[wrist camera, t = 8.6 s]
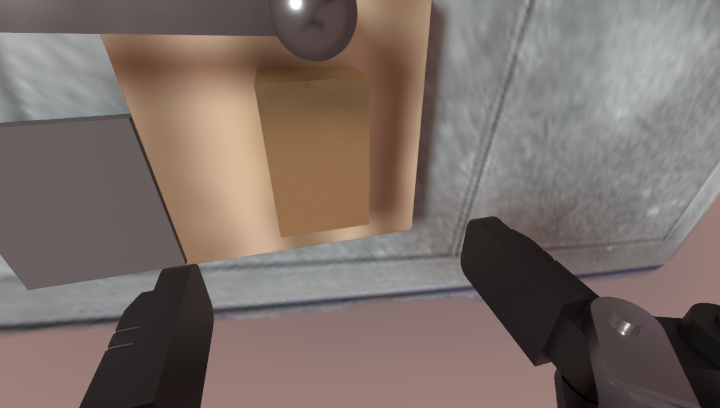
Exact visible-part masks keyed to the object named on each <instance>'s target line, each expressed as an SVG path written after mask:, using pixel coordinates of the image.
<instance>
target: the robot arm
mask: <svg viewBox="0 0 720 408" xmlns="http://www.w3.org/2000/svg"><path fill="white" fill-rule="evenodd" d="M461 267H462V270H463V273H464V275H465V276H466V278H467V279H468V280H469V282H470V283H471V284H472V285H473V287H474V288H475V289H476V291H477V292H478V293H479V295H480V296H481V297H482V298H483V300H484V301H485V302H486V304H487V305H488V306H489V307H490V309H491V310H492V311H493V313H494V314H495V315H496V317H497V318H498V319H499V320H500V322H501V323H502V324H503V326H504V327H505V328H506V330H507V331H508V332H509V333H510V335H511V336H512V337H513V339H514V340H515V341H516V343H517V344H518V345H519V346H520V347H521V349H522V350H523V351H524V353H525V354H526V355H527V357H528V358H529V359H530V361H531V362H532V363H533V364H534V366H538V365H542V364H545V363H549V362H552V363H553V364H554V365H555V366H556V368H557V369H556V371H555V375H554V380H555V389H556V399H557V408H720V305H716V304H710V303H698V304H695V305H693V306H692V307H691V308H690V310H689V311H688V312H687V313H686V315H685V316H684V317H683V318H669V317H668V318H667V317H654V316H652V315H651V314H650V313H648V312H647V311H645V310H644V309H642V308H641V307H639V306H637V305H635V304H633V303H631V302H628V301H626V300H623V299H619V298H614V297H599V296H598V295H596V294H595V293H594V292H593V291H592V290H591V289H590V288H588V287H587V286H586V285H585V284H584V283H582V282H581V281H580V280H579V279H578V278H577V277H575V276H574V275H573V274H572V273H571V272H569V271H568V270H567V269H566V268H565V267H563V266H562V265H561V264H560V263H559V262H558V261H556V260H555V261H554V260H553V257H552V256H550V255H549V254H548V253H547V252H546V251H543V250H542V248H541V247H540V246H539V245H537V244H536V243H535V242H534V241H533V240H531V239H530V238H529V237H527V236H525V235H523V234H521V233H519V232H517V231H515V230H513V229H510V228H509V227H508V226H507V225H505V224H504V223H503V222H502V221H501V220H500V219H498V218H497V217H494V216H492V217H485V218H479V219H473V220H470V221H469V223H468V225H467V229H466V234H465V238H464V243H463V248H462V253H461ZM213 323H214V316H213V308H212V303H211V300H210V298H209V295H208V292H207V289H206V286H205V283H204V280H203V278H202V275H201V272H200V269H199V267H198V265H197V264H189V265H183V266H176V267H170V268H165V269H163V270H162V271H161V273H160V276H159V278H158V281H157V283H156V286H155V288H154V291H148V292H142V293H141V294H140V295H139V296H138V297H137V298H136V299H135V300H134V301H133V302H132V303H131V304H130V305H129V306H128V307H127V309H126V310H125V311H124V313H123V315H122V317H121V319H120V321H119V324H118V326H117V328H116V334H113V337H112V339H111V341H110V343H109V345H108V351H105V354H104V356H103V358H102V360H101V363H100V364H99V366H98V369H97V371H96V373H95V375H94V377H93V380H92V381H91V384H90V386H89V388H88V390H87V392H86V394H85V396H84V399H83V401H82V403H81V405H80V407H79V408H200V406H201V400H202V393H203V387H204V381H205V375H206V369H207V363H208V356H209V350H210V344H211V337H212V331H213Z"/></svg>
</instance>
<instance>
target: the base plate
mask: <svg viewBox="0 0 720 408" xmlns="http://www.w3.org/2000/svg"><path fill="white" fill-rule="evenodd" d="M356 2H357V13H358V15H357V24H356V29H355V32H354V35H353V37H352V39H351V41H350V42H349V44H348V45H347V47H346V48H345V49H344V50H343V51H342V52H341V53H339V54H338V55H337V56H335V57H333V58H331V59H328V60H325V61H317V62H316V61H308V60H304V59H301V58H299V57H297V56H295V55H294V54H292V53H291V52H290V51H288V50H287V49H286V48H285V47H284V46H283V45H282V43H281V42H280V41H279V39H278V38H277V36H214V35H146V34H100V35H101V37H102V40H103V43H104V45H105V48H106V50H107V53H108V56H109V58H110V61H111V63H112V66H113V69H114V71H115V74H116V76H117V79H118V82H119V84H120V87H121V89H122V92H123V95H124V97H125V100H126V102H127V105H128V108H129V110H130V113H131V115H132V118H133V121H134V123H135V126H136V128H137V131H138V134H139V136H140V139H141V141H142V144H143V147H144V149H145V152H146V154H147V157H148V160H149V162H150V165H151V167H152V170H153V173H154V175H155V178H156V180H157V183H158V186H159V188H160V191H161V193H162V196H163V199H164V201H165V204H166V206H167V209H168V212H169V214H170V217H171V219H172V222H173V225H174V227H175V230H176V232H177V235H178V238H179V240H180V243H181V245H182V248H183V251H184V253H185V256H186V258H187V261H188V264H199V263H205V262H212V261H218V260H224V259H230V258H237V257H243V256H249V255H255V254H262V253H268V252H274V251H280V250H287V249H293V248H299V247H305V246H312V245H318V244H324V243H330V242H337V241H343V240H349V239H355V238H362V237H368V236H374V235H380V234H387V233H393V232H399V231H405V230H411V228H412V217H413V206H414V194H415V183H416V172H417V160H418V149H419V138H420V127H421V115H422V104H423V93H424V82H425V70H426V59H427V48H428V36H429V25H430V14H431V3H432V0H356ZM340 65H351V66H353V67H354V68H356V69H357V70H359V71H361V72H362V73H364V74H365V75H367V76H368V77H370V136H369V224H368V225H361V226H355V227H348V228H342V229H335V230H329V231H322V232H315V233H309V234H302V235H296V236H289V237H283V238H281V236H280V230H279V224H278V219H277V213H276V207H275V202H274V196H273V190H272V184H271V179H270V173H269V167H268V162H267V156H266V150H265V145H264V139H263V133H262V128H261V122H260V116H259V111H258V105H257V99H256V94H255V88H254V81H255V76H256V71H257V70H258V69H278V68H299V67H320V66H340Z"/></svg>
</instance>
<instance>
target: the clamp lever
mask: <svg viewBox="0 0 720 408" xmlns="http://www.w3.org/2000/svg"><path fill="white" fill-rule="evenodd" d="M357 15H358V13H357V2H356V0H0V32H11V33H79V34H146V35H214V36H277V38H278V39H279V41H280V42H281V43H282V45H283V46H284V47H285V48H286V49H287V50H288V51H290V52H291V53H292V54H294V55H295V56H297V57H299V58H301V59H304V60H308V61H316V62H317V61H325V60H328V59H331V58H333V57H335V56H337V55H338V54H339V53H341V52H342V51H343V50H344V49H345V48H346V47H347V45H348V44H349V42H350V41H351V39H352V37H353V35H354V32H355V29H356V24H357Z"/></svg>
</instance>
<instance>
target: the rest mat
mask: <svg viewBox="0 0 720 408" xmlns="http://www.w3.org/2000/svg"><path fill="white" fill-rule="evenodd" d="M0 254H1V256H2V257H3V258H4V260H5V261H6V262H7V264H8V265H9V266H10V267H11V269H12V270H13V271H14V273H15V274H16V275H17V276H18V278H19V279H20V280H21V282H22V283H23V284H24V285H25V287H26V288H27V289H28V290H32V289H38V288H44V287H50V286H57V285H63V284H69V283H76V282H82V281H88V280H94V279H101V278H107V277H113V276H119V275H126V274H132V273H138V272H144V271H151V270H157V269H163V268H169V267H176V266H182V265H186V263H187V258H186V256H185V253H184V251H183V248H182V245H181V243H180V240H179V238H178V235H177V232H176V230H175V227H174V225H173V222H172V219H171V217H170V214H169V212H168V209H167V206H166V204H165V201H164V199H163V196H162V193H161V191H160V188H159V186H158V183H157V180H156V178H155V175H154V173H153V170H152V167H151V165H150V162H149V160H148V157H147V154H146V152H145V149H144V147H143V144H142V141H141V139H140V136H139V134H138V131H137V128H136V126H135V123H134V121H133V118H132V115H131V114H121V115H107V116H93V117H78V118H64V119H50V120H36V121H21V122H7V123H0Z"/></svg>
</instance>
